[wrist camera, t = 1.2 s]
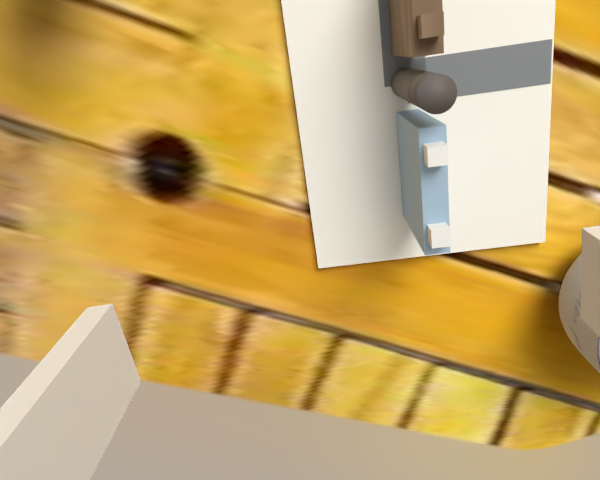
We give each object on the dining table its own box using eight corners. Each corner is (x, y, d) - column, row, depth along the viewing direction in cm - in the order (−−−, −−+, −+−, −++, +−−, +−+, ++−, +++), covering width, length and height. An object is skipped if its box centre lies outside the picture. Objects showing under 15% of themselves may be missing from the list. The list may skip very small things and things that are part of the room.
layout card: (318, 265, 36) (318, 268, 36) (272, -64, 29) (271, -66, 28) (541, 238, 35) (545, 241, 34) (555, -111, 27) (560, -114, 27)
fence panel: (403, 215, 34) (428, 262, 26) (396, 112, 31) (422, 131, 24) (423, 212, 34) (455, 259, 26) (418, 108, 31) (451, 127, 24)
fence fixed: (391, 99, 31) (419, 116, 23) (380, -68, 28) (407, -114, 20) (420, 95, 31) (457, 111, 23) (412, -73, 28) (452, -122, 20)
